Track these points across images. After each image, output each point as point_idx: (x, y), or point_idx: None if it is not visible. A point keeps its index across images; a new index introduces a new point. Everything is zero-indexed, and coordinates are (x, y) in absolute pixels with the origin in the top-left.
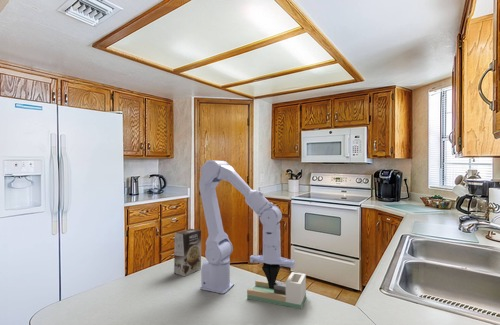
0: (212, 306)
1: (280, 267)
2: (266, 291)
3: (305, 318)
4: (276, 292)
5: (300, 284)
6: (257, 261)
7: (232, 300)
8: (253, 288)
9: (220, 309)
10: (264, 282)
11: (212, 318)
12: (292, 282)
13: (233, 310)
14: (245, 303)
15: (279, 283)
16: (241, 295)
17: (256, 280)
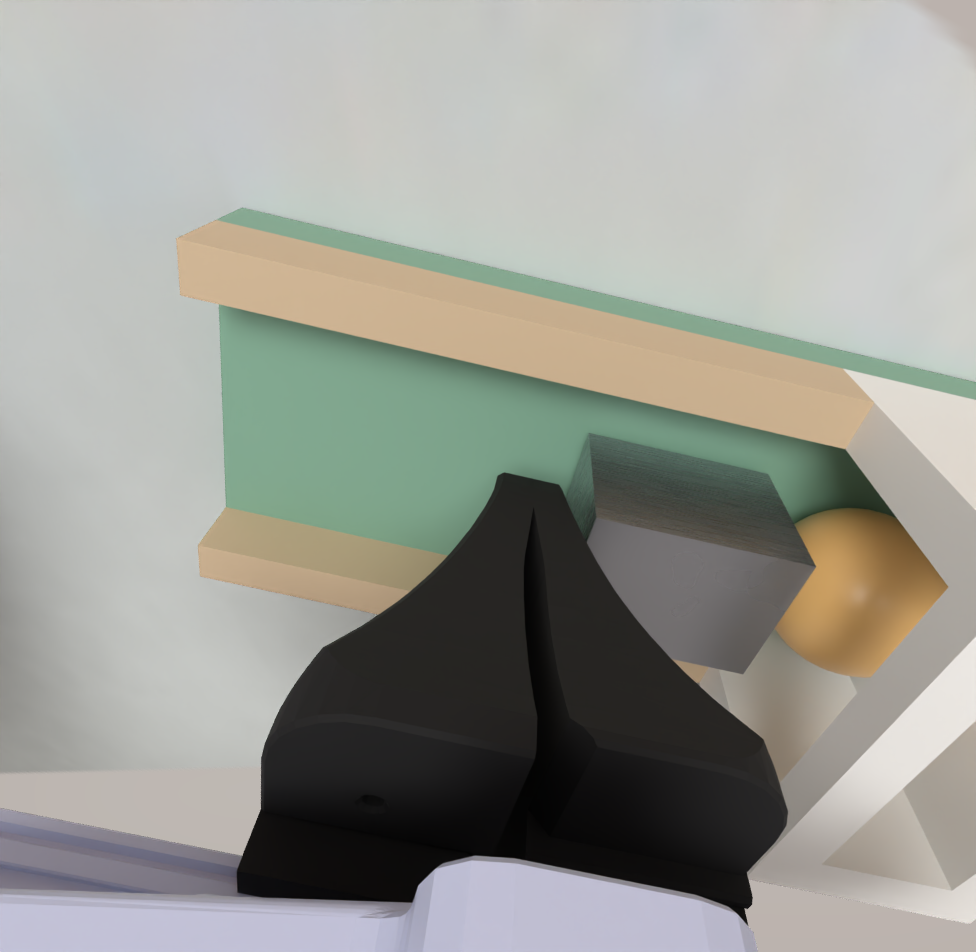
0: (28, 647)
1: (734, 731)
2: (439, 441)
3: None
4: None
5: (966, 916)
6: (27, 887)
7: (122, 555)
8: (232, 378)
9: (118, 676)
10: (361, 331)
11: (139, 755)
12: (854, 895)
13: (223, 681)
14: None
15: (644, 587)
16: (151, 454)
17: (189, 267)
